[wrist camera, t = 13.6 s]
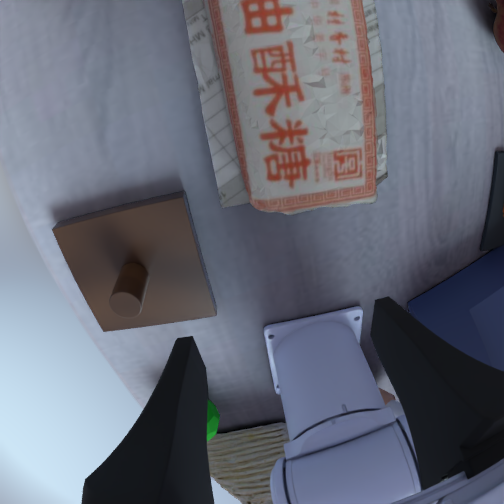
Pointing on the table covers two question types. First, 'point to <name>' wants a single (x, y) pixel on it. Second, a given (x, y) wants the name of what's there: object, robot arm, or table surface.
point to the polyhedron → (212, 420)
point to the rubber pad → (495, 208)
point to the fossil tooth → (247, 461)
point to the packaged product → (291, 100)
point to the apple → (499, 23)
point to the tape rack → (138, 263)
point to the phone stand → (469, 309)
